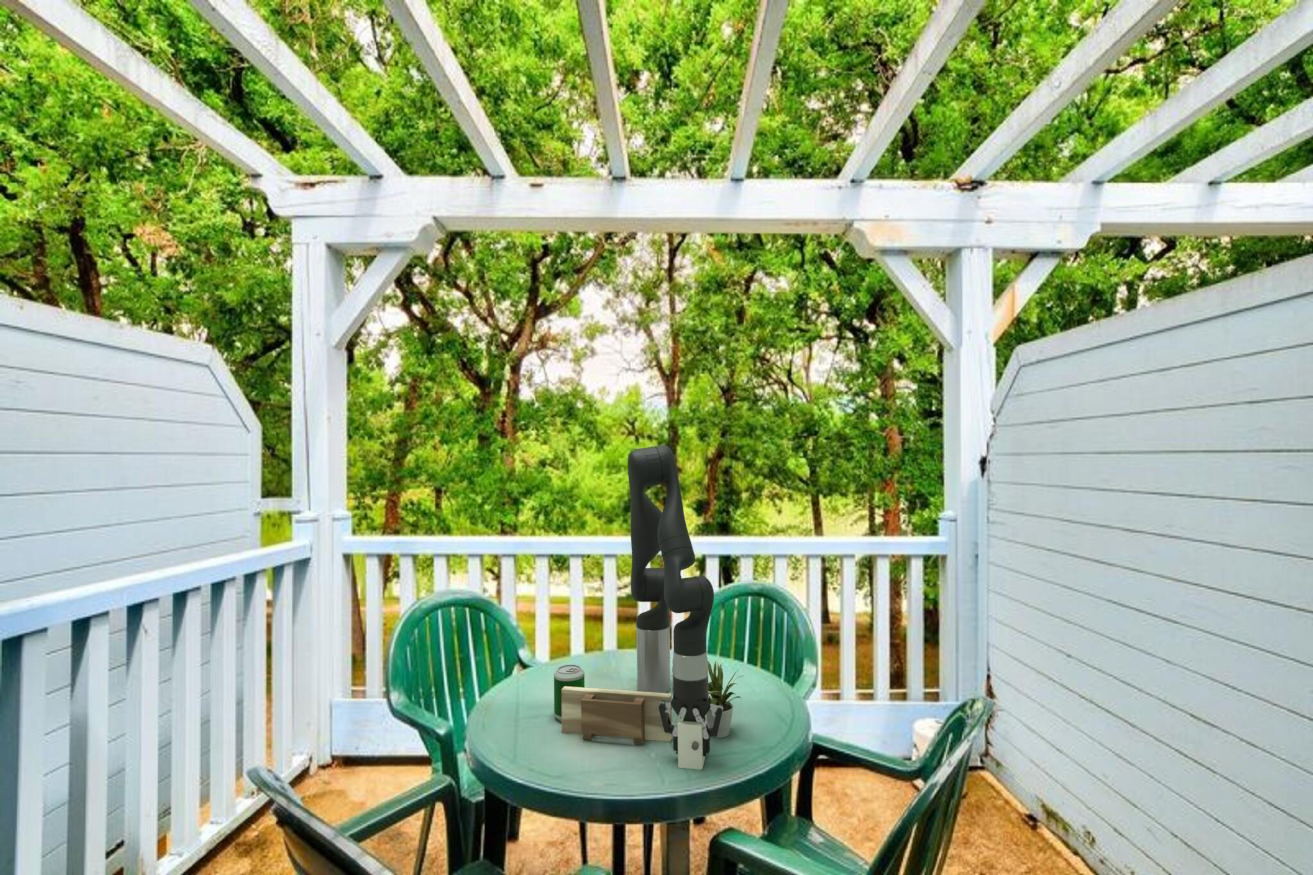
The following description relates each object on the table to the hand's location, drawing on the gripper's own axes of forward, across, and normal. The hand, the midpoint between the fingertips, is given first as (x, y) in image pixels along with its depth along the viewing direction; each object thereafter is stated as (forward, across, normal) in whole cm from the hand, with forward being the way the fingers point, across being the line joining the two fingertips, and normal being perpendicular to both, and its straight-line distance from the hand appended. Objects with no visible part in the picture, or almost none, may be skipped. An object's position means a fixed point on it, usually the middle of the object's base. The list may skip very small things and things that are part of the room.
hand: (691, 753), depth 126 cm
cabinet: (+2, 0, -1) cm, 2 cm away
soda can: (+2, +33, -16) cm, 37 cm away
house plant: (+2, -3, -15) cm, 15 cm away
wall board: (+2, +19, -7) cm, 20 cm away
